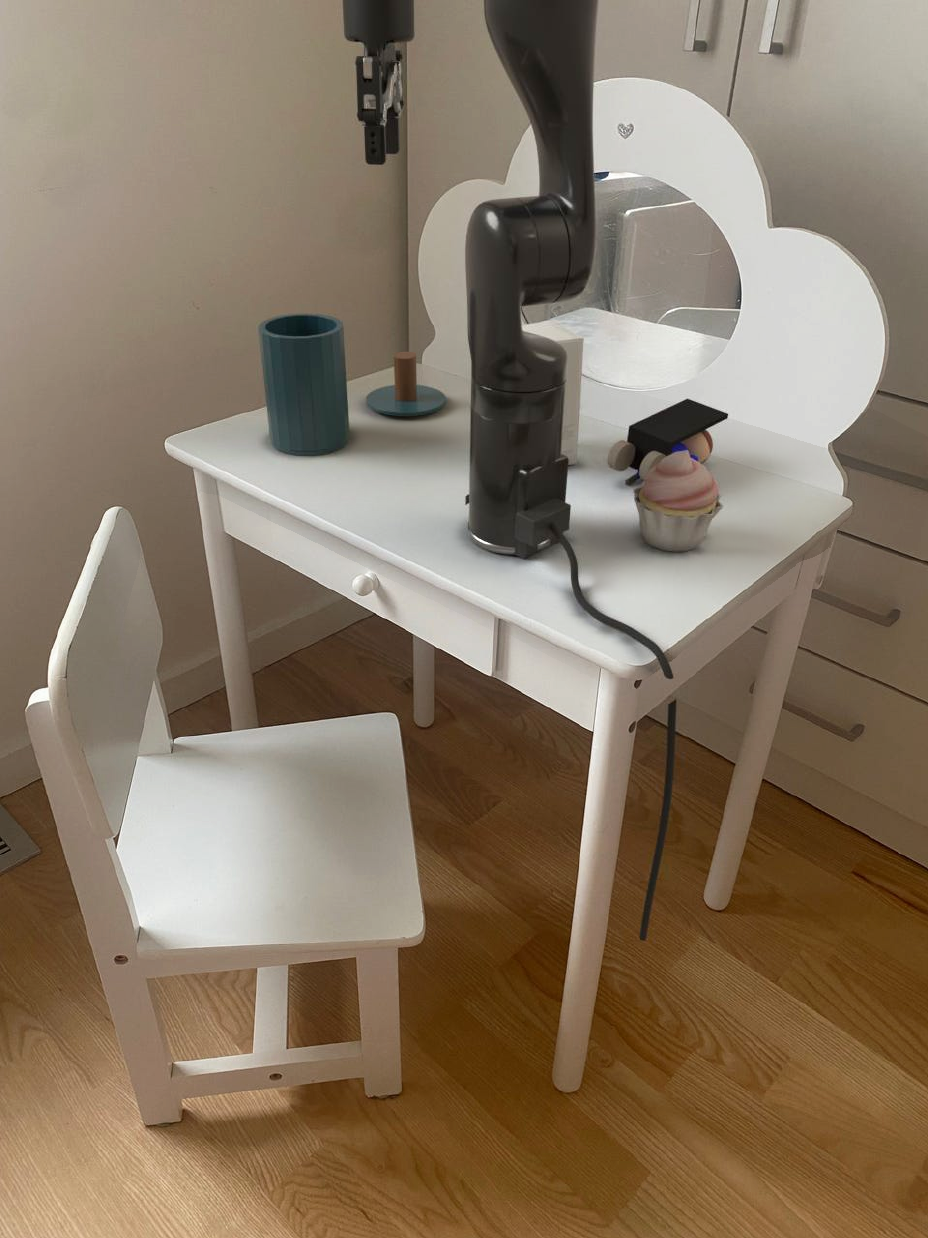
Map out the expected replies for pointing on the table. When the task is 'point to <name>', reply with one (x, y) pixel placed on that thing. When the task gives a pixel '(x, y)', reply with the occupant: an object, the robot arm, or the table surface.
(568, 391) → the cosmetic box
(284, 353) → the tube
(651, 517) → the cupcake
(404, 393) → the tube lid
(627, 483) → the figurine character
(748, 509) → the table surface
